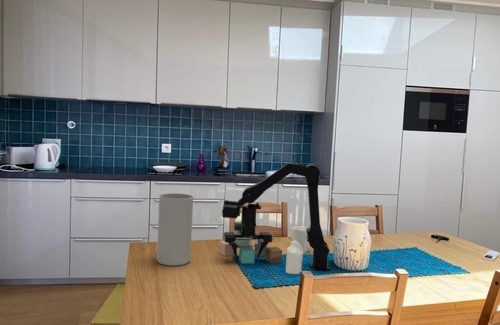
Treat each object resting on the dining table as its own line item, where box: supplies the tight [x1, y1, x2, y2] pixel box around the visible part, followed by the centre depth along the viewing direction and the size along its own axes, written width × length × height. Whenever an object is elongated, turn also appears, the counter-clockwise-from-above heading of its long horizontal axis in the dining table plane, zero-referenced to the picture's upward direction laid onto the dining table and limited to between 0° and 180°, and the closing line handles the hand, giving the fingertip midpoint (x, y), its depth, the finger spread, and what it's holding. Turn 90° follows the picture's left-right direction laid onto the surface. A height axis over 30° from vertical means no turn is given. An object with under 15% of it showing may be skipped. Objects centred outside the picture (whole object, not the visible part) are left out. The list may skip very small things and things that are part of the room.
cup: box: [234, 221, 252, 248], centre depth 176 cm, size 8×8×10 cm
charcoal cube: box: [254, 240, 268, 257], centre depth 166 cm, size 5×5×5 cm
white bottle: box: [285, 241, 304, 275], centre depth 146 cm, size 6×12×6 cm
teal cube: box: [238, 246, 255, 265], centre depth 156 cm, size 5×5×5 cm
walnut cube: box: [264, 246, 283, 264], centre depth 158 cm, size 5×5×5 cm
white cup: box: [291, 225, 310, 254], centre depth 174 cm, size 8×8×10 cm
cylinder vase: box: [156, 192, 194, 267], centre depth 150 cm, size 12×12×25 cm
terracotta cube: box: [218, 240, 234, 257], centre depth 164 cm, size 5×5×5 cm
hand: (246, 258), depth 156 cm, fingers open, 8 cm apart
